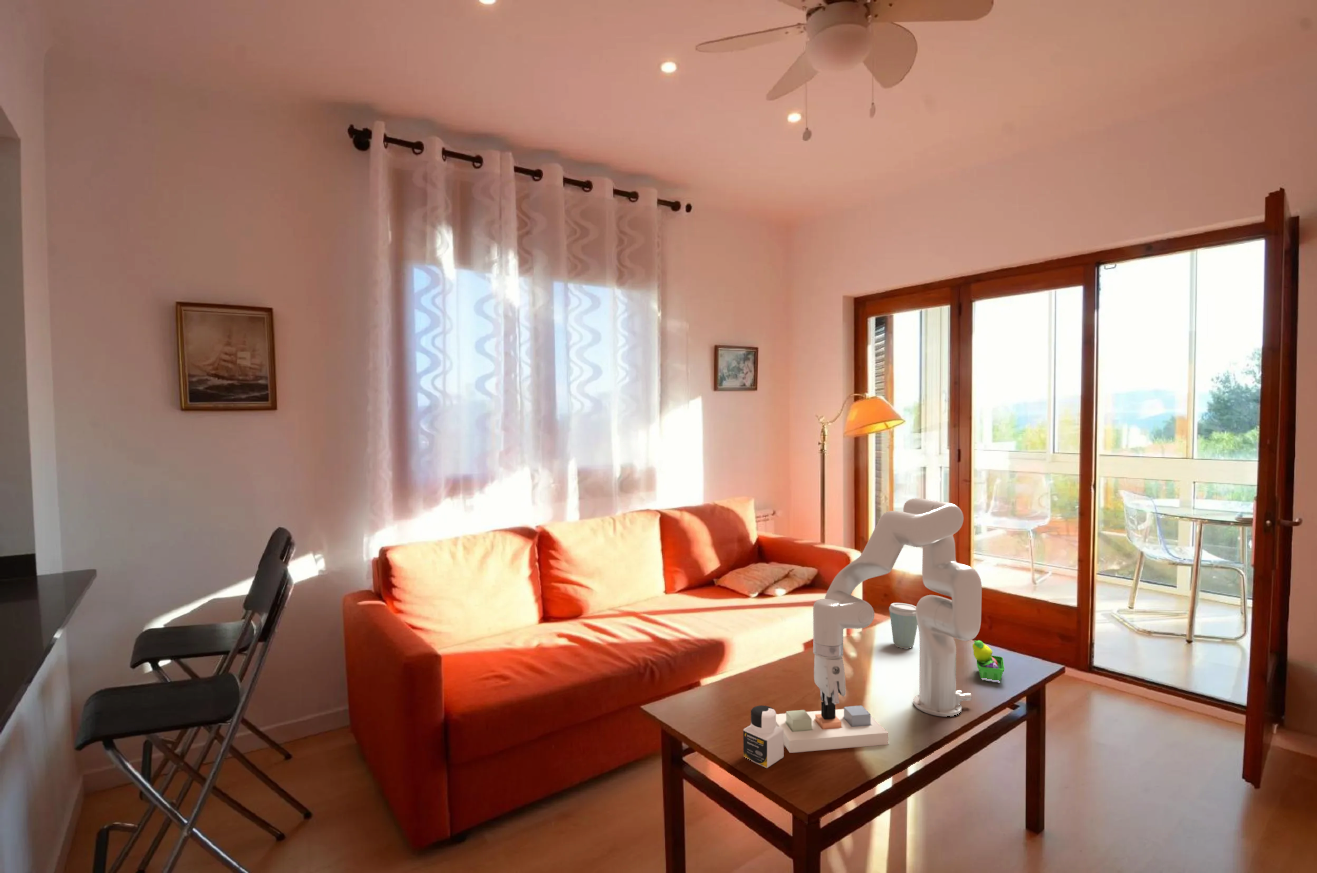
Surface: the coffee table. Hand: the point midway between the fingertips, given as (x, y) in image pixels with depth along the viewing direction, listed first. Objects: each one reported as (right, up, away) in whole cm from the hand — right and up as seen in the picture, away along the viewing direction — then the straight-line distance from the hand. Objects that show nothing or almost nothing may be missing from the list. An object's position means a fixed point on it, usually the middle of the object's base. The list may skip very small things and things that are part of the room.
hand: (828, 717), depth 164 cm
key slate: (+8, -3, +1) cm, 8 cm away
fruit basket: (+60, -3, +36) cm, 70 cm away
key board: (0, -5, 0) cm, 5 cm away
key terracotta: (0, -4, 0) cm, 4 cm away
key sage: (-8, -3, -1) cm, 9 cm away
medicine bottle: (-19, -5, -11) cm, 22 cm away
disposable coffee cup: (+44, -3, +63) cm, 77 cm away
